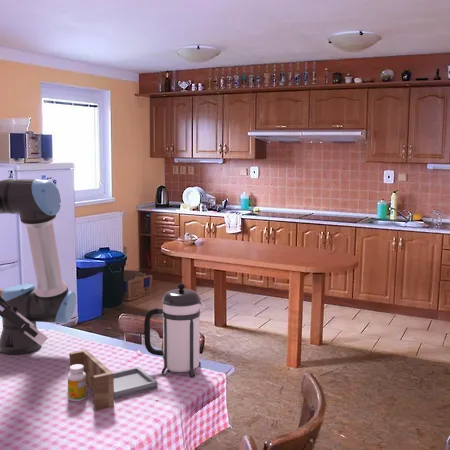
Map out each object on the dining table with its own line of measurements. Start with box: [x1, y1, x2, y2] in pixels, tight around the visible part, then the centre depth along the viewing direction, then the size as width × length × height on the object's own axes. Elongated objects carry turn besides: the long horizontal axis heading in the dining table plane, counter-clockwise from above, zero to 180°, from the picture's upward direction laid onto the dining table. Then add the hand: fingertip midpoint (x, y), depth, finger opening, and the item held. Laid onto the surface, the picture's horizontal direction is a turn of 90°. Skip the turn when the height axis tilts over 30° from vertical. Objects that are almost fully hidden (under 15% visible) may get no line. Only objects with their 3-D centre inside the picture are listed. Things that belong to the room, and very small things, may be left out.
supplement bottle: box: [67, 364, 88, 402], centre depth 166 cm, size 5×5×10 cm
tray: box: [112, 366, 158, 400], centre depth 175 cm, size 14×14×2 cm
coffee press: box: [143, 282, 206, 378], centre depth 185 cm, size 17×16×30 cm
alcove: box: [69, 349, 115, 412], centre depth 168 cm, size 22×6×10 cm, turn 33°
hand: (37, 334), depth 157 cm, fingers open, 13 cm apart
